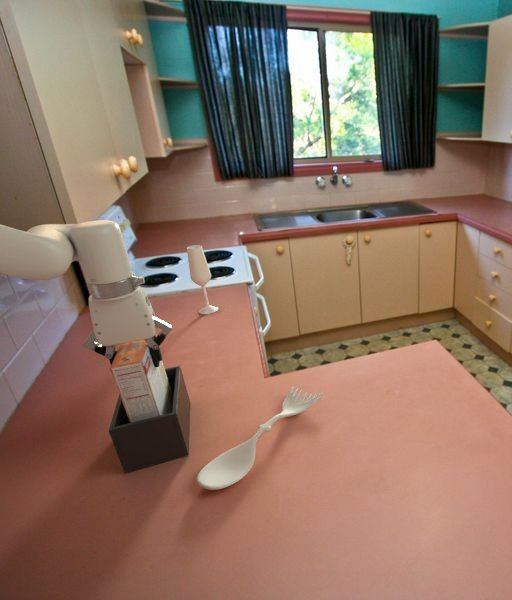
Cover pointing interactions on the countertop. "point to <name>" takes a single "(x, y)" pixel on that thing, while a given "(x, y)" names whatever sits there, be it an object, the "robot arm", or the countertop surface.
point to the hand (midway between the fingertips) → (139, 367)
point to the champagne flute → (200, 273)
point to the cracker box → (141, 382)
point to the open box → (153, 430)
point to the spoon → (248, 447)
